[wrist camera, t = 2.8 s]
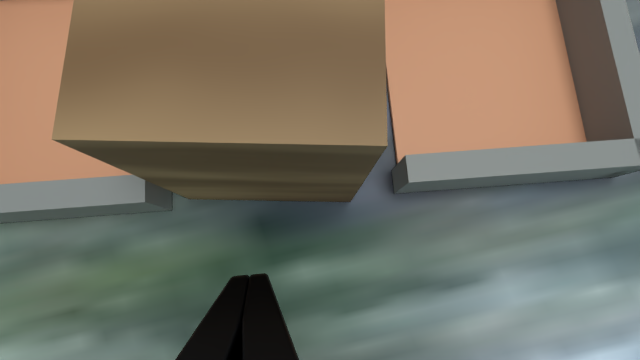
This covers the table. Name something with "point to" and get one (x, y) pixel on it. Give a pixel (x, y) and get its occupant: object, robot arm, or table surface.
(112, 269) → the table surface
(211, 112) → the walnut block
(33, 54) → the trap lane
